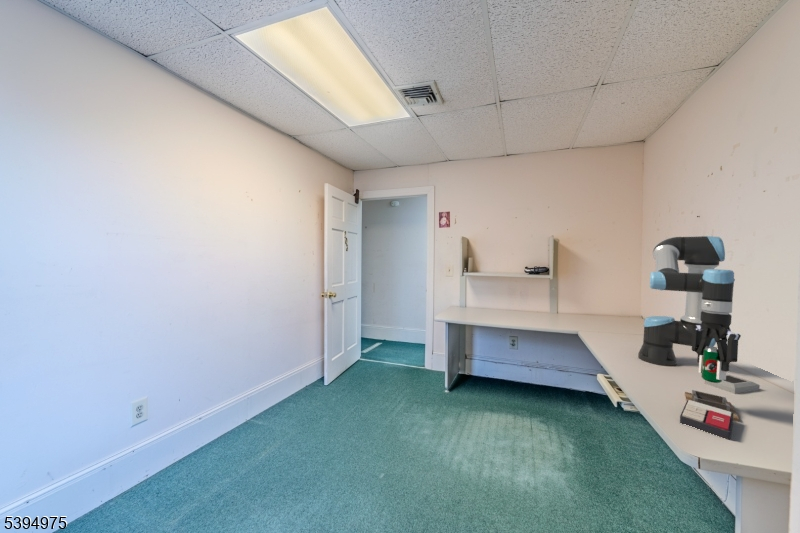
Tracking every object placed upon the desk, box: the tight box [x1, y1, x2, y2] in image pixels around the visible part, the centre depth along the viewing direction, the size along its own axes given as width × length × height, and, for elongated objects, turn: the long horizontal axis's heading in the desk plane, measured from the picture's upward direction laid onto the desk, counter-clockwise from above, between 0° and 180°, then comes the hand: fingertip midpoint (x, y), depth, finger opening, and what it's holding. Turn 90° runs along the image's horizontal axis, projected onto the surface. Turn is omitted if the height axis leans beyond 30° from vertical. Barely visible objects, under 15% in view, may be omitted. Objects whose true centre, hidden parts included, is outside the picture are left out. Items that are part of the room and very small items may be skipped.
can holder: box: [684, 389, 740, 423], centre depth 106 cm, size 15×12×3 cm
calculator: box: [679, 400, 734, 441], centre depth 96 cm, size 11×4×15 cm
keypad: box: [704, 374, 761, 395], centre depth 124 cm, size 10×4×15 cm
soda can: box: [701, 346, 722, 383], centre depth 105 cm, size 5×5×12 cm
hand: (711, 375), depth 106 cm, fingers closed on soda can, 5 cm apart
